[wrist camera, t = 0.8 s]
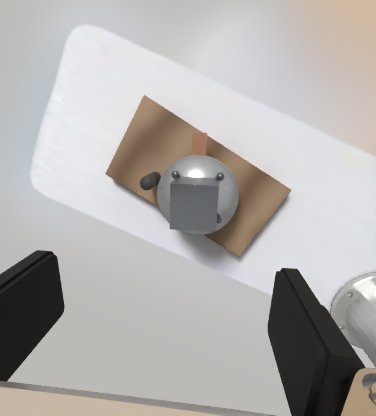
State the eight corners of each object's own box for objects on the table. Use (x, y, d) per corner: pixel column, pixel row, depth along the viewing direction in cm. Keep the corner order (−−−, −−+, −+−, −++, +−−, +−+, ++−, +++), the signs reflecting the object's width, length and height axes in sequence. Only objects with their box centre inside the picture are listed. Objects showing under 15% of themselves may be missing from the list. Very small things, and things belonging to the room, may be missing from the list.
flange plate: (234, 232, 28) (238, 256, 23) (160, 227, 29) (146, 249, 24) (242, 134, 25) (250, 132, 20) (159, 132, 26) (143, 130, 20)
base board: (286, 186, 31) (302, 197, 25) (237, 250, 34) (242, 272, 28) (148, 97, 30) (132, 88, 24) (111, 172, 33) (89, 178, 27)
